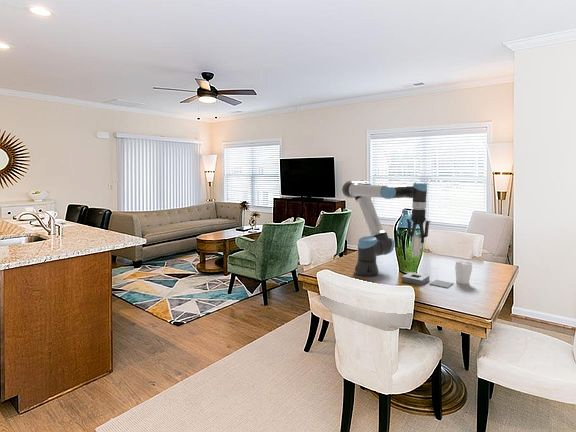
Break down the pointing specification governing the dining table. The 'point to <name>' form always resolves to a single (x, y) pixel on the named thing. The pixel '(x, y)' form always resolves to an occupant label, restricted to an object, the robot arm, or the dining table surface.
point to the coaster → (441, 283)
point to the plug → (416, 244)
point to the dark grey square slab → (415, 278)
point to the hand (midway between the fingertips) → (416, 247)
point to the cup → (463, 272)
